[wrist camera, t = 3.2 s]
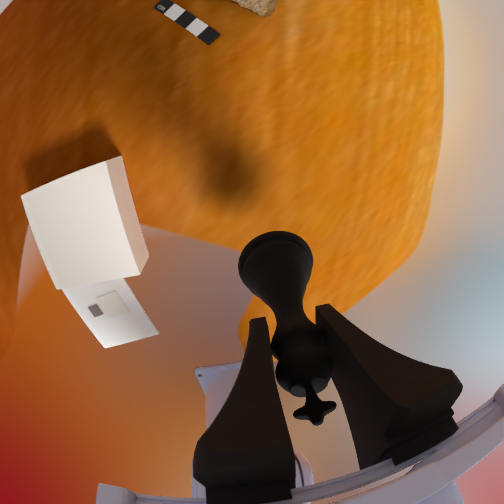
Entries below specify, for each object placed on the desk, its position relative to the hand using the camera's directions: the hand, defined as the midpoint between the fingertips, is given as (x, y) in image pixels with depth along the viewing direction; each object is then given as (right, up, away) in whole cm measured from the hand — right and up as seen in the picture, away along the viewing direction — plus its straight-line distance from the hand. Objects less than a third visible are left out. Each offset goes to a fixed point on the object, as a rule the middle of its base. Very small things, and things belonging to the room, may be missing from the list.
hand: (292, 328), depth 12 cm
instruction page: (-15, -1, +10) cm, 18 cm away
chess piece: (0, +3, +4) cm, 5 cm away
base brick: (-14, +6, +6) cm, 17 cm away
